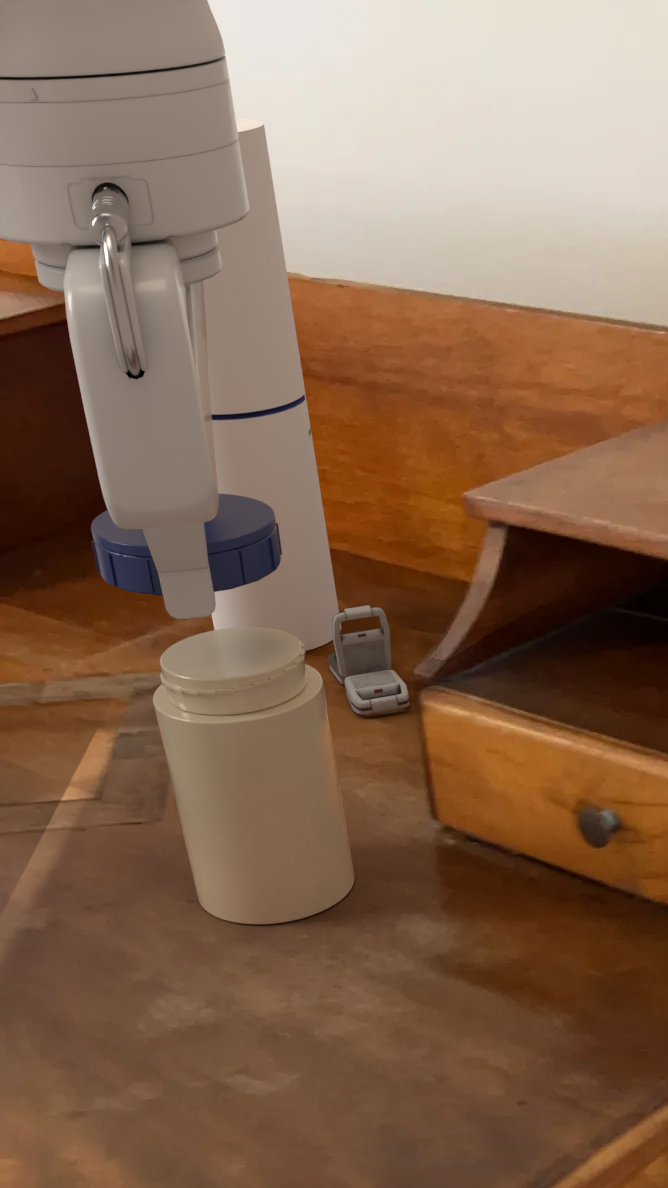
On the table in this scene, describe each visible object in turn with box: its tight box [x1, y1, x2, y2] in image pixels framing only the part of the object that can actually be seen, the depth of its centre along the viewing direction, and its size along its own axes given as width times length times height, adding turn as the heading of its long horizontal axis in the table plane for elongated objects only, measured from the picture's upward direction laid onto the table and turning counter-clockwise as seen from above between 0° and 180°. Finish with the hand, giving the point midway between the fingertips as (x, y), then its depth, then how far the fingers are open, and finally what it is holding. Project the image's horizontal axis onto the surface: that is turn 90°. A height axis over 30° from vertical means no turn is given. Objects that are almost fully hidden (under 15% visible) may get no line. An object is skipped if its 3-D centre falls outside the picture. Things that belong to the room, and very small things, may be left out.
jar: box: [152, 627, 356, 926], centre depth 71 cm, size 7×7×10 cm
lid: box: [90, 493, 282, 596], centre depth 66 cm, size 7×7×2 cm
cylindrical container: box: [203, 117, 342, 652], centre depth 91 cm, size 7×7×25 cm
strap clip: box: [327, 604, 410, 716], centre depth 91 cm, size 8×3×4 cm, turn 20°
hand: (191, 575), depth 67 cm, fingers closed on lid, 7 cm apart
